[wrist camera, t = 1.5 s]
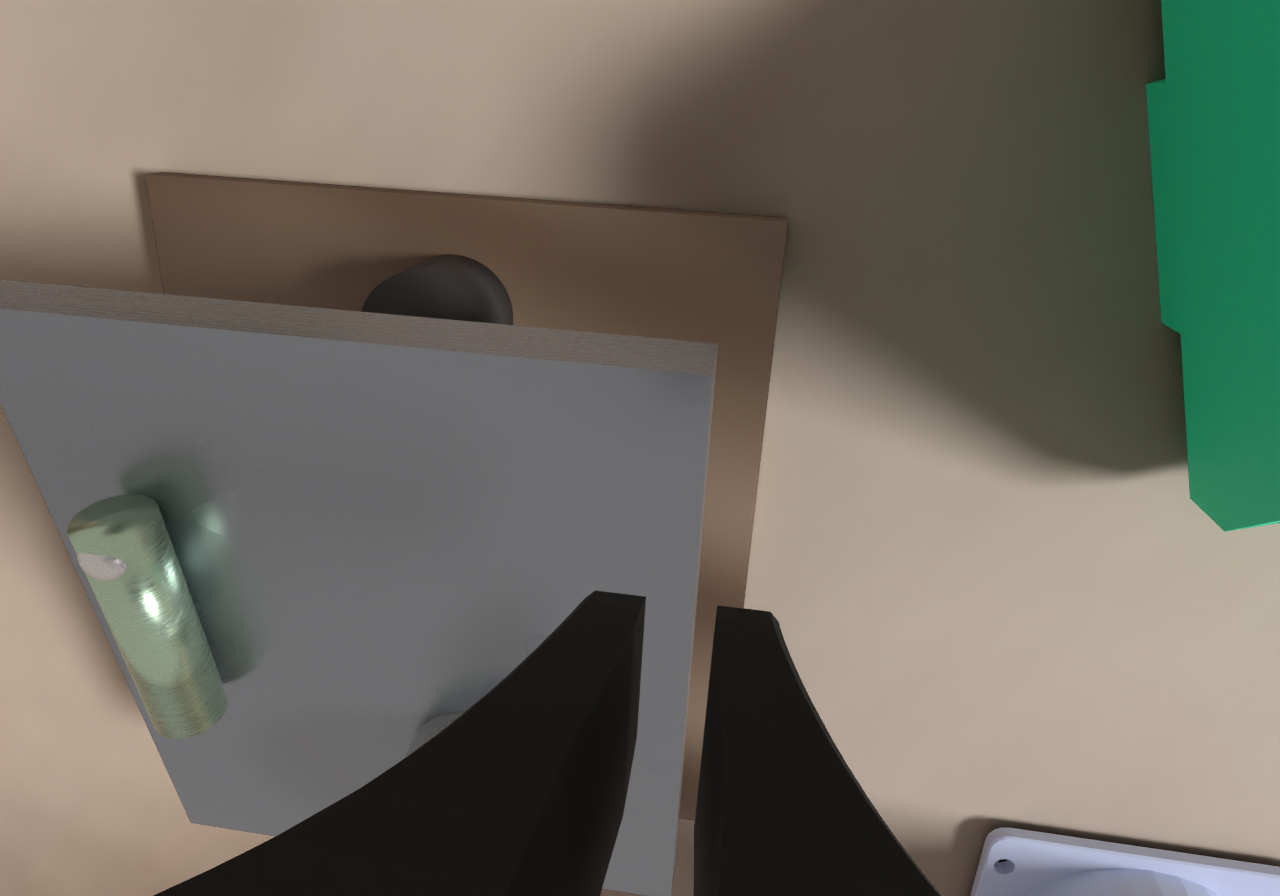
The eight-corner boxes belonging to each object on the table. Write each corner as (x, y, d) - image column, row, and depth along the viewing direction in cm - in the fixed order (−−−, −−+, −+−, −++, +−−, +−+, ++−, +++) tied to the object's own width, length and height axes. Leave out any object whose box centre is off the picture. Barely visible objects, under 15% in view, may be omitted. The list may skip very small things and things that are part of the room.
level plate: (675, 859, 21) (653, 1042, 18) (212, 787, 23) (113, 946, 19) (718, 343, 13) (692, 502, 10) (2, 279, 15) (-226, 401, 11)
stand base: (718, 815, 24) (712, 897, 22) (247, 745, 26) (191, 814, 23) (787, 217, 18) (789, 237, 16) (162, 171, 20) (74, 182, 17)
